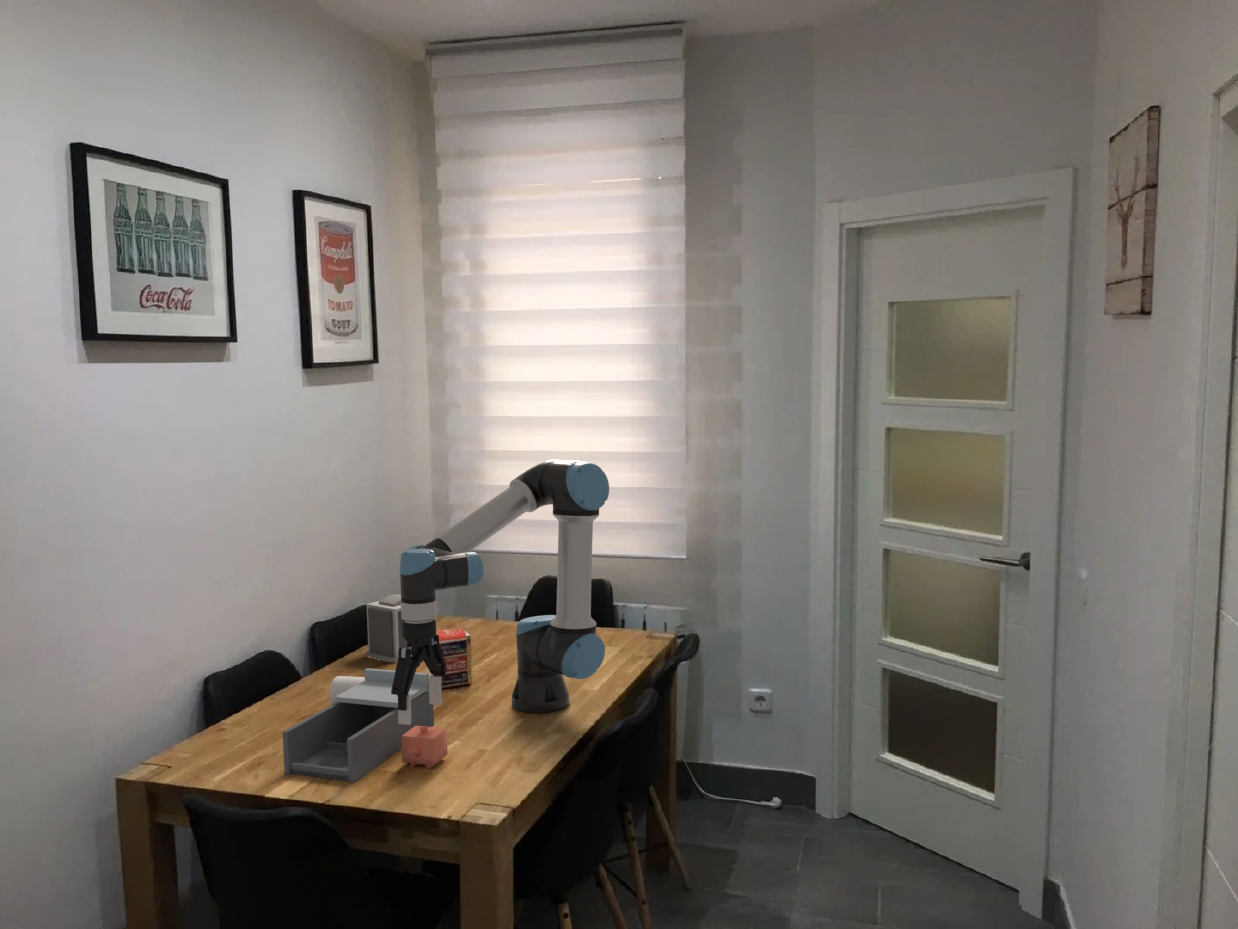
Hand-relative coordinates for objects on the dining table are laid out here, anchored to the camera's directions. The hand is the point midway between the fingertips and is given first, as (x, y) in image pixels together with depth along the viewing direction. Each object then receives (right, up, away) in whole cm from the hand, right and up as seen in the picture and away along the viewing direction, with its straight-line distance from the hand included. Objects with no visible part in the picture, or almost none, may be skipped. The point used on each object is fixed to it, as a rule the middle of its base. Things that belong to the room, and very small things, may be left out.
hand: (420, 714), depth 215 cm
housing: (-15, -11, +11) cm, 22 cm away
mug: (-25, -9, +42) cm, 50 cm away
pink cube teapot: (0, -12, +1) cm, 12 cm away
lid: (-13, 0, +18) cm, 22 cm away
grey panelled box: (-25, -4, +90) cm, 93 cm away
